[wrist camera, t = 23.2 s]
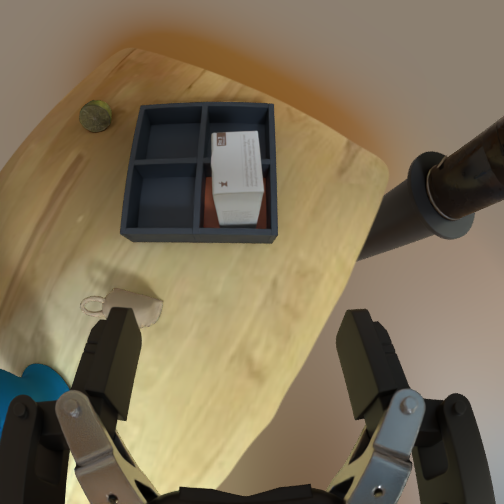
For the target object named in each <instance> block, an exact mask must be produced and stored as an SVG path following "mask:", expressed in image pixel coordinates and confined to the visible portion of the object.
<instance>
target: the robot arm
mask: <svg viewBox="0 0 504 504" xmlns="http://www.w3.org/2000/svg"><path fill="white" fill-rule="evenodd" d="M445 158H446V156H445V157H444V158H443V159H442V161H441V162H440V163H439V164H437V165H435V166H433V167H432V168H431V169H430V170H429V171H428V172H427V174H426V178H425V190H426V194H427V197H428V200H429V202H430V204H431V206H432V207H433V209H434V210H435V211H436V212H437V213H438V214H439V215H440V216H441V217H442V218H444V219H446V220H449V221H456V220H458V219H461V218H462V217H464V216H466V215H469V214H472V213H474V212H476V211H479V210H481V209H483V208H486V207H488V206H490V205H493V204H495V203H497V202H500V201H502V200H504V116H503V117H502V118H500V119H499V120H498V121H497V122H495V123H494V124H493V125H491V126H490V127H489V128H487V129H486V130H485V131H483V132H482V133H481V134H479V135H478V136H476V137H475V138H474V139H472V140H471V141H470V142H468V143H467V144H465V145H464V146H463V147H461V148H460V149H459V150H457V151H456V152H454V153H453V154H452V155H450V156H449V157H447V158H446V159H445ZM141 345H142V337H141V332H140V329H139V326H138V323H137V321H136V318H135V314H134V311H133V309H132V308H126V307H112V308H111V309H110V312H109V314H108V317H107V320H101V319H100V320H99V321H98V322H97V324H96V325H95V326H94V327H93V328H92V329H91V332H90V335H89V337H88V340H87V343H86V346H85V348H84V352H83V354H82V357H81V360H80V363H79V366H78V369H77V372H76V375H75V378H74V381H73V384H72V387H71V389H70V390H69V391H67V392H65V393H63V394H62V395H61V396H60V397H59V398H58V400H53V401H42V402H35V401H34V400H33V399H32V398H31V397H30V396H28V395H18V396H16V397H15V398H14V399H13V400H12V401H11V402H10V404H9V407H8V410H7V414H6V418H5V422H4V426H3V430H2V435H1V440H0V504H65V493H66V480H67V470H68V461H69V453H70V451H71V453H72V455H73V457H74V459H75V462H76V467H75V469H74V470H75V475H76V477H77V479H78V481H79V483H80V485H81V487H82V489H83V491H84V493H85V495H86V496H87V498H88V500H89V502H90V504H397V502H398V500H399V498H400V496H401V494H402V491H403V489H404V487H405V485H406V482H407V480H408V478H409V475H410V472H411V470H412V462H411V461H410V460H409V458H410V454H411V452H412V456H413V461H414V467H415V472H416V477H417V483H418V489H419V496H420V502H421V504H496V503H495V497H494V491H493V486H492V481H491V476H490V471H489V466H488V462H487V458H486V454H485V450H484V447H483V443H482V439H481V436H480V432H479V429H478V426H477V423H476V419H475V416H474V414H473V410H472V408H471V405H470V402H469V401H468V399H467V398H466V397H465V396H463V395H461V394H458V393H454V394H451V395H449V396H448V397H447V398H446V399H445V400H432V399H424V398H423V397H422V396H421V395H420V394H419V393H418V392H416V391H415V390H412V389H411V388H410V387H409V385H408V382H407V380H406V377H405V374H404V372H403V369H402V367H401V364H400V361H399V359H398V356H397V354H396V353H395V349H394V346H393V344H391V339H390V337H389V335H388V332H387V330H386V329H385V328H384V327H383V326H382V325H381V324H380V323H379V322H378V321H377V322H373V321H372V319H371V316H370V314H369V312H368V310H367V309H354V310H347V311H346V313H345V316H344V318H343V320H342V323H341V326H340V328H339V331H338V333H337V336H336V348H337V352H338V356H339V359H340V363H341V367H342V370H343V374H344V378H345V382H346V386H347V390H348V393H349V398H350V402H351V406H352V410H353V414H354V418H355V420H359V419H365V423H366V425H365V427H364V428H363V430H362V432H361V434H360V437H359V438H358V440H357V442H356V444H355V446H354V448H353V450H352V452H351V454H350V455H349V457H348V459H347V461H346V463H345V464H344V466H343V467H342V468H341V470H340V471H339V472H338V473H337V475H336V476H335V477H334V479H333V480H332V482H331V483H330V485H329V487H328V488H327V490H326V491H323V490H320V489H315V488H311V484H306V485H299V486H289V487H279V488H276V489H273V490H269V491H266V492H262V493H258V494H255V495H251V496H240V495H235V494H231V493H226V492H222V491H218V490H214V489H205V488H190V487H179V491H174V492H170V493H167V494H164V495H160V494H159V493H158V491H157V490H156V488H155V487H154V486H153V484H152V483H151V482H150V480H149V479H148V478H147V476H146V475H145V474H144V473H143V472H142V471H141V469H140V468H139V467H138V465H137V464H136V462H135V461H134V459H133V457H132V456H131V454H130V452H129V451H128V449H127V447H126V446H125V444H124V442H123V441H122V439H121V437H120V435H119V433H118V432H117V430H116V424H117V420H122V421H126V420H127V415H128V409H129V404H130V398H131V393H132V388H133V383H134V378H135V373H136V369H137V364H138V360H139V355H140V351H141ZM374 495H375V496H374ZM116 501H117V503H116Z"/></svg>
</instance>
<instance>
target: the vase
mask: <svg viewBox="0 0 504 504" xmlns="http://www.w3.org/2000/svg"><path fill="white" fill-rule="evenodd" d="M69 390H70V389H69V387H68V386H67V384H66V383H65V381H64V380H63V379H62V377H61V376H60V375H59V374H58V373H57V372H55V371H54V370H53V369H51V368H50V367H48V366H46V365H43V364H31V365H29V366H28V367H27V368H26V369H25V370H24V372H23V374H22V377H18V376H16V375H14V374H12V373H10V372H7V371H5V370H2V369H0V440H1V435H2V430H3V426H4V422H5V418H6V414H7V410H8V407H9V404H10V402H11V401H12V400H13V399H14V398H15V397H16V396H18V395H28V396H30V397H31V398H32V399H33V400H34V401H35V402H42V401H53V400H58V398H59V397H60V396H61V395H62V394H63V393H65V392H67V391H69Z"/></svg>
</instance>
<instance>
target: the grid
mask: <svg viewBox="0 0 504 504" xmlns="http://www.w3.org/2000/svg"><path fill="white" fill-rule="evenodd" d="M242 131H258V138H259V146H260V156H261V165H262V175H263V184H264V193H263V197H262V202H261V207H260V212H259V216H258V221H257V226H256V229H248V228H220V225H219V221H218V216H217V212H216V208H215V204H214V199H213V194H212V168H211V156H212V149H211V135H212V133H223V132H242ZM120 234H121V235H122V236H124V237H126V238H127V239H129V240H130V241H132V242H192V243H269V244H272V243H273V241H274V240H275V238H276V237H277V236H278V217H277V176H276V145H275V119H274V104H268V103H249V102H190V103H169V104H155V105H143V106H141V107H140V111H139V115H138V120H137V124H136V129H135V134H134V139H133V144H132V149H131V155H130V160H129V166H128V173H127V179H126V186H125V193H124V201H123V209H122V218H121V228H120Z"/></svg>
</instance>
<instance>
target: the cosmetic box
mask: <svg viewBox="0 0 504 504" xmlns="http://www.w3.org/2000/svg"><path fill="white" fill-rule="evenodd" d="M211 149H212V156H211V168H212V194H213V199H214V204H215V208H216V212H217V216H218V221H219V225H220V228H248V229H256V226H257V221H258V216H259V212H260V207H261V202H262V197H263V193H264V184H263V175H262V165H261V156H260V146H259V138H258V131H242V132H223V133H212V135H211Z"/></svg>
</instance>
